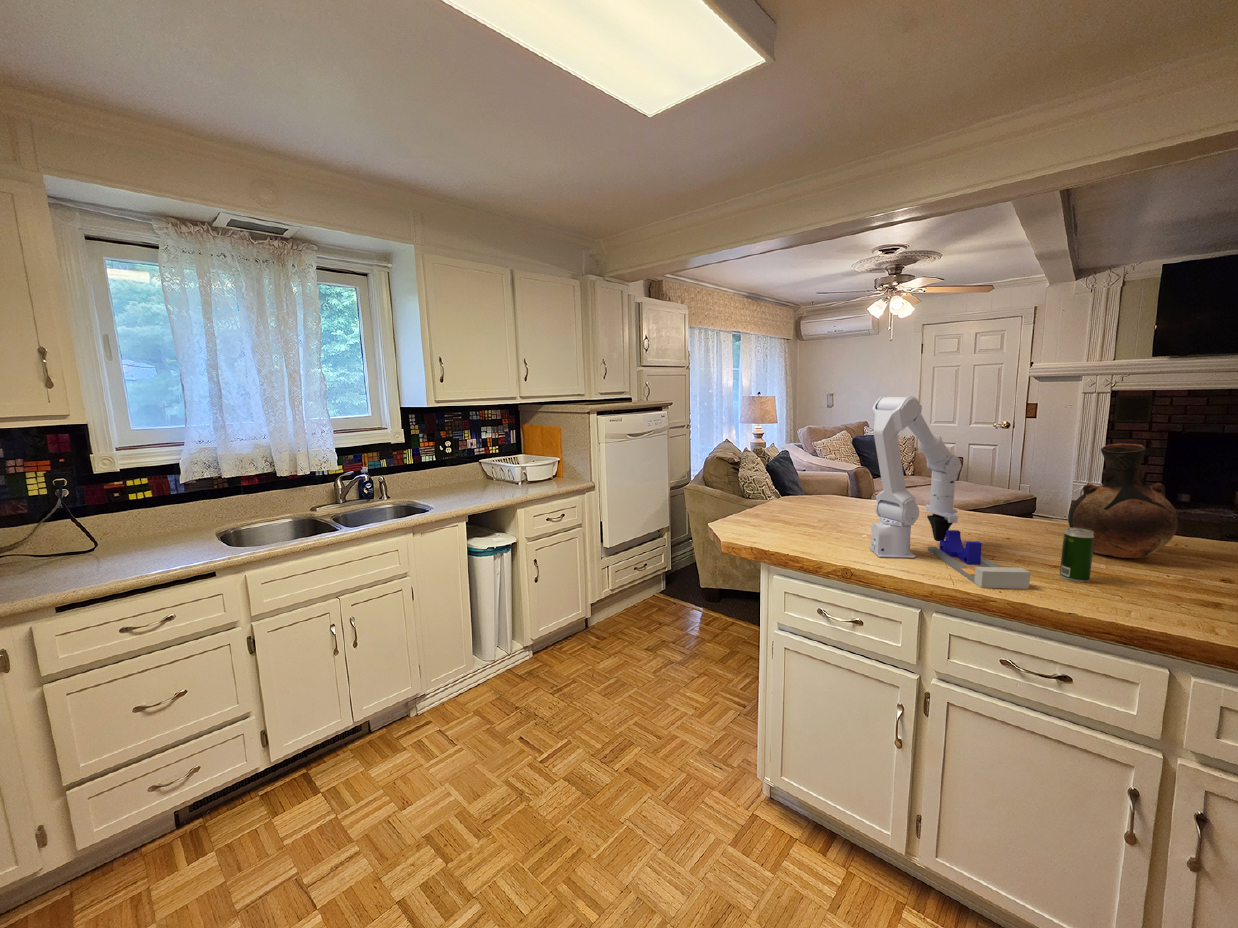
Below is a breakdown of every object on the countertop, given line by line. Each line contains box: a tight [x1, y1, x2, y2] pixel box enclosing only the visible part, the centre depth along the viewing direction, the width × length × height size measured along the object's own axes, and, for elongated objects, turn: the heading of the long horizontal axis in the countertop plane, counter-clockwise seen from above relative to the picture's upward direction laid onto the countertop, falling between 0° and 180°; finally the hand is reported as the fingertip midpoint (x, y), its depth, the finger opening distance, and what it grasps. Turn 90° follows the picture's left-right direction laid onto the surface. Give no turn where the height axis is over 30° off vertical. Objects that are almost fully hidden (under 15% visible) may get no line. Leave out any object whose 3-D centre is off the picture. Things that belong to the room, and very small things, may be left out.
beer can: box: [1059, 527, 1095, 583], centre depth 120 cm, size 5×5×12 cm
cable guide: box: [927, 546, 1031, 590], centre depth 129 cm, size 10×27×4 cm, turn 172°
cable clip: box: [938, 529, 983, 566], centre depth 137 cm, size 12×4×6 cm, turn 172°
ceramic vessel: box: [1067, 443, 1179, 559], centre depth 133 cm, size 21×18×30 cm
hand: (939, 540), depth 147 cm, fingers closed
